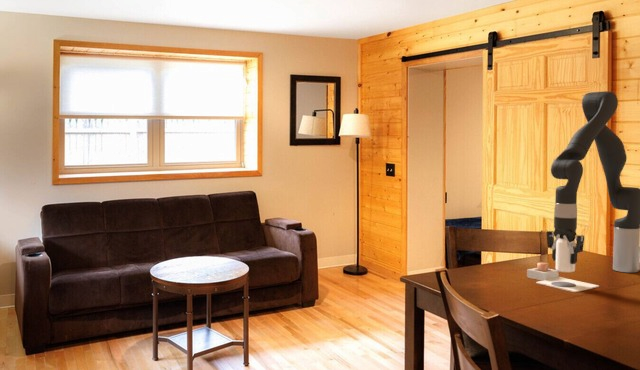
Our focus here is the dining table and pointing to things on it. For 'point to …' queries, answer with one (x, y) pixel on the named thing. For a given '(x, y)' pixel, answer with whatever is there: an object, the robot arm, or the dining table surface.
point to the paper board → (567, 284)
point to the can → (564, 256)
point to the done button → (542, 267)
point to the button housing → (542, 274)
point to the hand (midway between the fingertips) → (564, 261)
